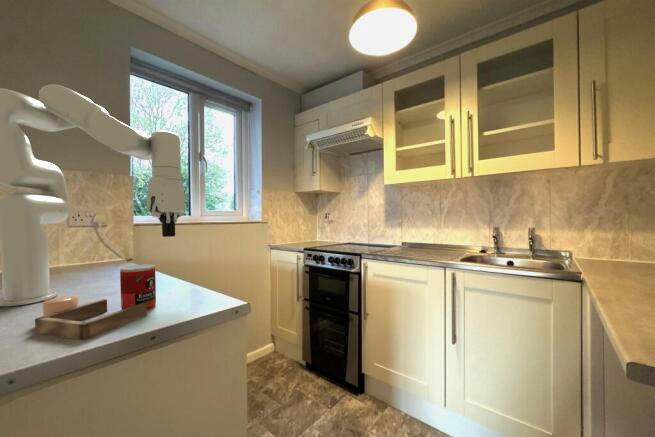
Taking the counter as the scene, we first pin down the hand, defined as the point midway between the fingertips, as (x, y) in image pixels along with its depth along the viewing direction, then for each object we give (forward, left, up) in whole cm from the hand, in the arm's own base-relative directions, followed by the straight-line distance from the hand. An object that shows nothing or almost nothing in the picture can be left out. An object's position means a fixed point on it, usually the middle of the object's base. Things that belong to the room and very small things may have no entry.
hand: (168, 236), depth 85 cm
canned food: (0, -10, -18) cm, 21 cm away
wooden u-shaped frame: (0, -21, -18) cm, 28 cm away
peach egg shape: (-10, -22, -18) cm, 30 cm away
